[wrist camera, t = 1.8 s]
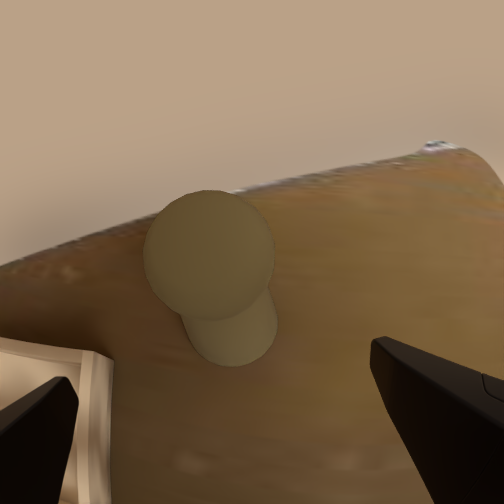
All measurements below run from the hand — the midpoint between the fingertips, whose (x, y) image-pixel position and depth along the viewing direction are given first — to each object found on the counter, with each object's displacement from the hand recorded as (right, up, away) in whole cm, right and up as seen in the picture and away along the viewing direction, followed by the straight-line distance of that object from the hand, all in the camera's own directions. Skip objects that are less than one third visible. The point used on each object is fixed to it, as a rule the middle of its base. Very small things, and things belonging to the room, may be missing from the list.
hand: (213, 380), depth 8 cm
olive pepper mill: (0, -1, +13) cm, 13 cm away
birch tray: (-14, -9, +9) cm, 19 cm away
